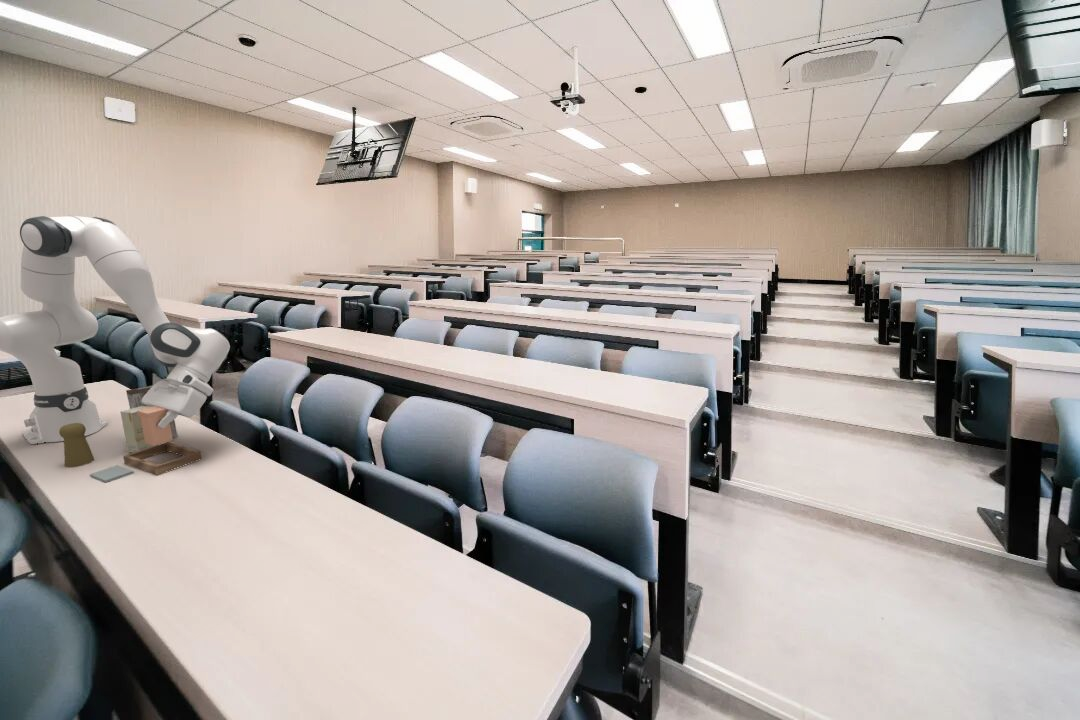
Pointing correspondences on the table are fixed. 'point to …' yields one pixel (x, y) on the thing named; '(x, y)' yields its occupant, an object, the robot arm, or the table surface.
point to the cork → (75, 445)
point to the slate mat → (111, 473)
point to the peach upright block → (154, 426)
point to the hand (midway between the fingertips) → (153, 425)
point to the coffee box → (135, 401)
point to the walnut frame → (188, 457)
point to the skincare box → (134, 430)
